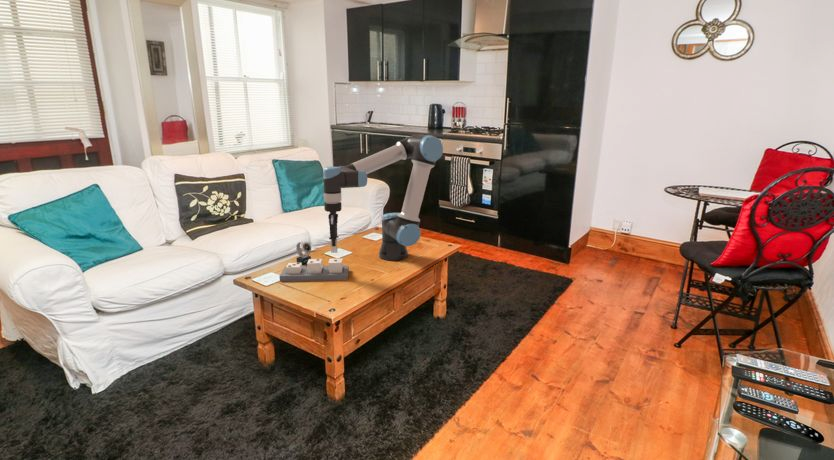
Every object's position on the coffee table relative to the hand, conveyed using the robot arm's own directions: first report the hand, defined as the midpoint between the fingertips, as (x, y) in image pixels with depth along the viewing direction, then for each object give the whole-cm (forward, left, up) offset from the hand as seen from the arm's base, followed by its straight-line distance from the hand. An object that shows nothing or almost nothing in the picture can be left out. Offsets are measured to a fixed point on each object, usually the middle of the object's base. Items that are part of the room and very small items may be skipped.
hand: (334, 252), depth 207 cm
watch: (+17, -18, -12) cm, 28 cm away
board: (+9, 0, -11) cm, 15 cm away
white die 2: (0, 0, -9) cm, 9 cm away
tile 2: (+9, 0, -9) cm, 13 cm away
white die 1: (+19, 0, -11) cm, 22 cm away
